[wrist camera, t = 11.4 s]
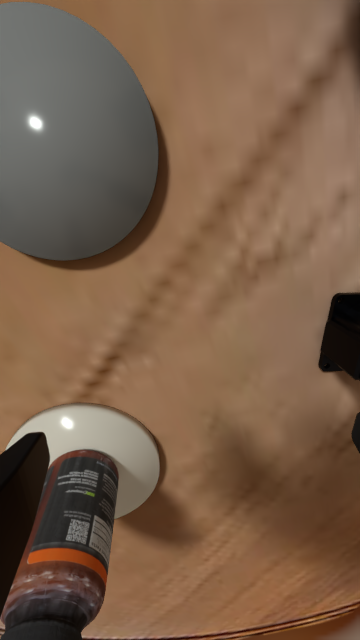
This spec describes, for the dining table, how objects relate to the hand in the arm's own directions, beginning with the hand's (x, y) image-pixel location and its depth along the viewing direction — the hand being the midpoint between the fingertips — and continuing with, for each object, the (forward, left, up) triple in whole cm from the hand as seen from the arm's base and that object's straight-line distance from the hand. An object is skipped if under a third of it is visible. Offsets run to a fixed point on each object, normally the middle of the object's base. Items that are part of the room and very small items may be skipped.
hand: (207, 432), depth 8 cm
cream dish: (+8, +15, -13) cm, 21 cm away
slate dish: (+7, -9, -13) cm, 17 cm away
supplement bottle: (+8, +15, -12) cm, 21 cm away
